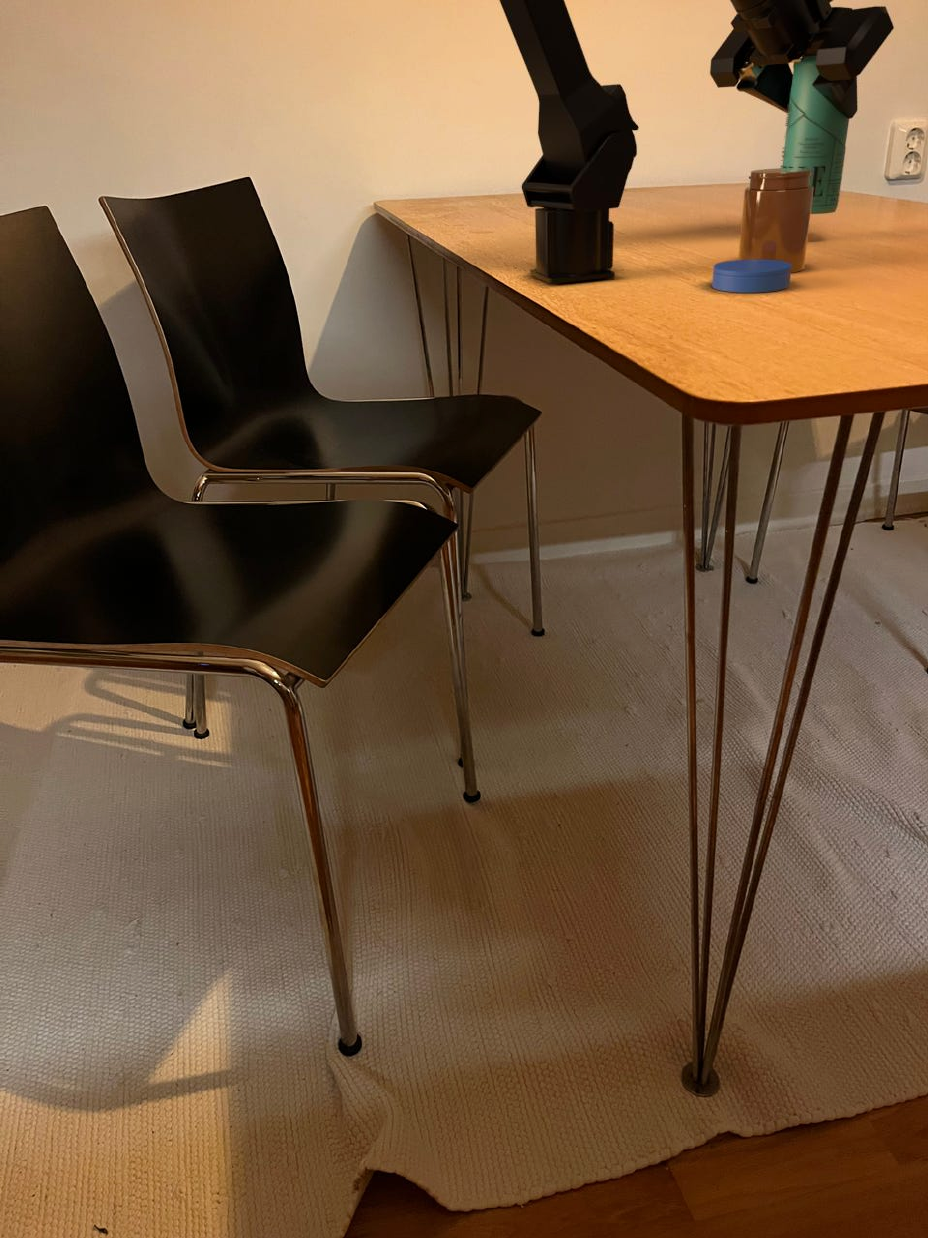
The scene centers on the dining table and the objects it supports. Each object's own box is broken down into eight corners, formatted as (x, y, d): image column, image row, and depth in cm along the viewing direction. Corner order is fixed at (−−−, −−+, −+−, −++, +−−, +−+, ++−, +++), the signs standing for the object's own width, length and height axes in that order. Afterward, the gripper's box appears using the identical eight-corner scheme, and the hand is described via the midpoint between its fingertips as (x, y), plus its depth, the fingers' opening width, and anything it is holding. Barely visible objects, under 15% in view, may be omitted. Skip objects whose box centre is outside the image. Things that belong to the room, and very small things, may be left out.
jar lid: (698, 283, 82) (699, 263, 81) (763, 276, 83) (764, 256, 83) (736, 295, 77) (737, 274, 76) (804, 287, 78) (807, 266, 77)
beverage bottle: (828, 222, 103) (857, 8, 93) (843, 228, 97) (876, 1, 87) (768, 223, 103) (791, 12, 94) (779, 230, 98) (805, 5, 88)
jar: (758, 276, 84) (768, 174, 80) (725, 267, 89) (733, 171, 85) (817, 270, 85) (829, 169, 81) (781, 261, 90) (791, 166, 86)
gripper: (900, -109, 78) (956, 43, 88) (742, -70, 93) (805, 56, 103) (820, 1, 79) (885, 140, 89) (676, 22, 93) (745, 139, 103)
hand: (827, 115), depth 96 cm, fingers closed on beverage bottle, 6 cm apart
